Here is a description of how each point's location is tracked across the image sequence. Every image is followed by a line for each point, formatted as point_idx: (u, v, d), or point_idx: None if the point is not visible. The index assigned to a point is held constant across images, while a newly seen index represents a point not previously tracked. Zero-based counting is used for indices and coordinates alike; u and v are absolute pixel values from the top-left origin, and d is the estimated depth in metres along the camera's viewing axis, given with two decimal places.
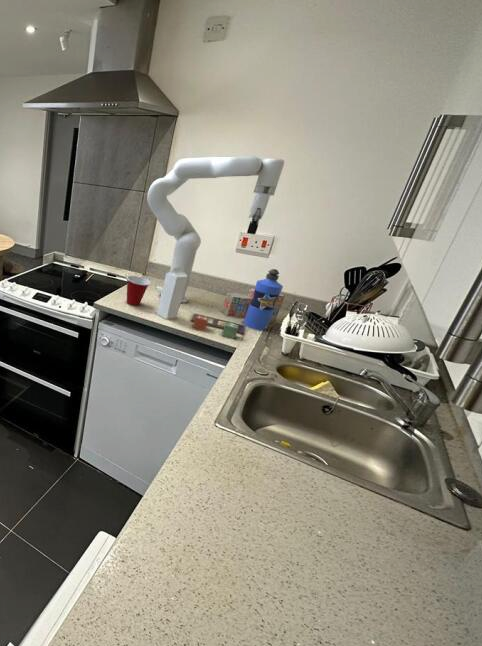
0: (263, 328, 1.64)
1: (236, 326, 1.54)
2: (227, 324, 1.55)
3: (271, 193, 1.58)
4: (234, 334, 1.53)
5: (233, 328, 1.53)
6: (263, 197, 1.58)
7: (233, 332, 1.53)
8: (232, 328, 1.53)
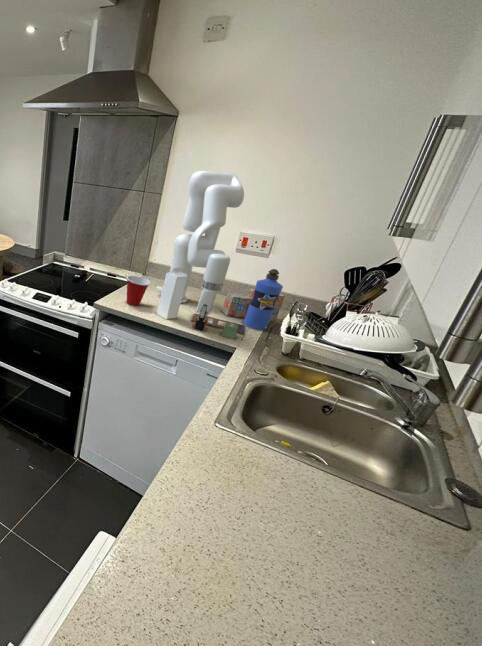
0: (263, 328, 1.64)
1: (236, 326, 1.54)
2: (227, 324, 1.55)
3: (218, 290, 1.51)
4: (234, 334, 1.53)
5: (233, 328, 1.53)
6: (209, 294, 1.51)
7: (233, 332, 1.53)
8: (232, 328, 1.53)
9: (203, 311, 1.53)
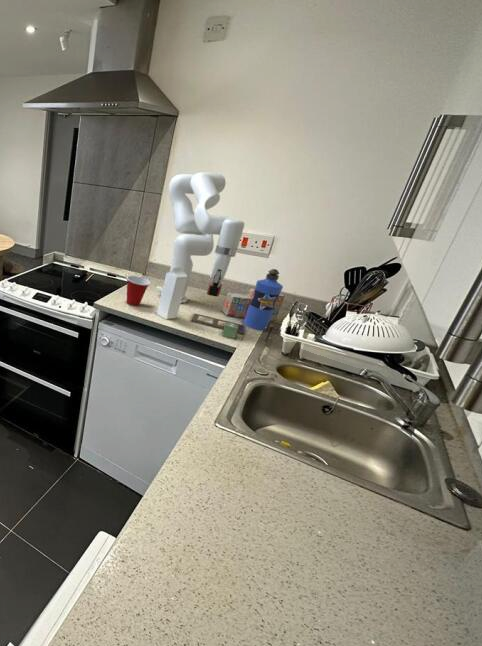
0: (263, 328, 1.64)
1: (236, 326, 1.54)
2: (227, 324, 1.55)
3: (232, 255, 1.53)
4: (234, 334, 1.53)
5: (233, 328, 1.53)
6: (223, 258, 1.54)
7: (233, 332, 1.53)
8: (232, 328, 1.53)
9: (217, 276, 1.55)
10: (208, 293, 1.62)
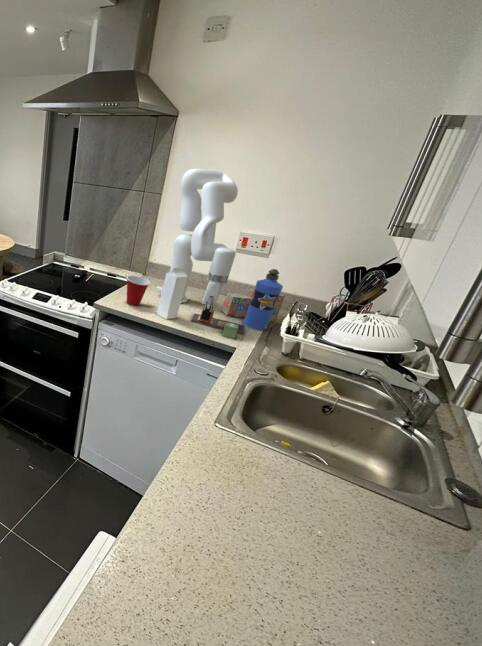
0: (263, 328, 1.64)
1: (236, 326, 1.54)
2: (227, 324, 1.55)
3: (223, 282, 1.58)
4: (234, 334, 1.53)
5: (233, 328, 1.53)
6: (215, 286, 1.58)
7: (233, 332, 1.53)
8: (232, 328, 1.53)
9: (210, 300, 1.59)
10: (201, 319, 1.67)
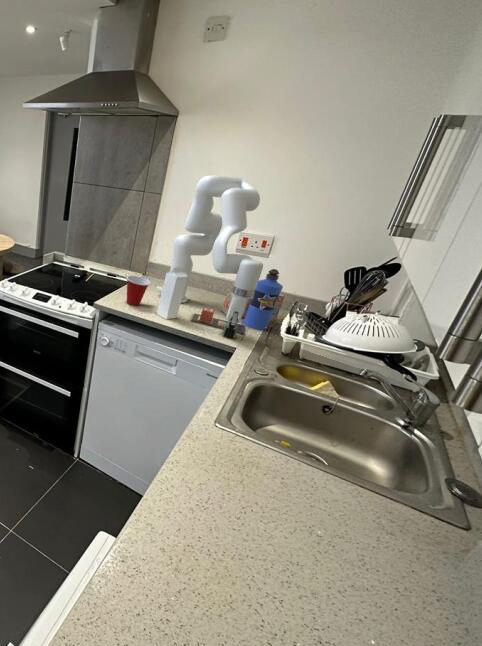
0: (263, 328, 1.64)
1: (236, 326, 1.54)
2: (227, 324, 1.55)
3: (249, 297, 1.46)
4: (234, 334, 1.53)
5: None
6: (240, 301, 1.46)
7: None
8: None
9: (234, 318, 1.48)
10: (201, 319, 1.67)
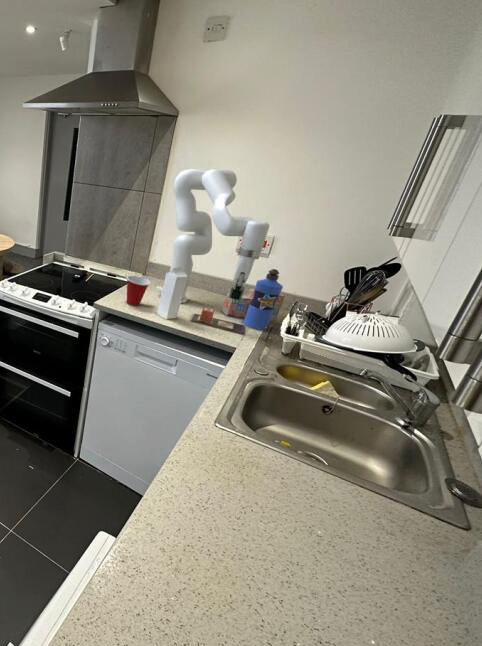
0: (263, 328, 1.64)
1: (242, 288, 1.57)
2: (233, 286, 1.58)
3: (256, 257, 1.49)
4: (240, 295, 1.56)
5: None
6: (247, 261, 1.49)
7: None
8: None
9: (240, 279, 1.51)
10: (201, 319, 1.67)
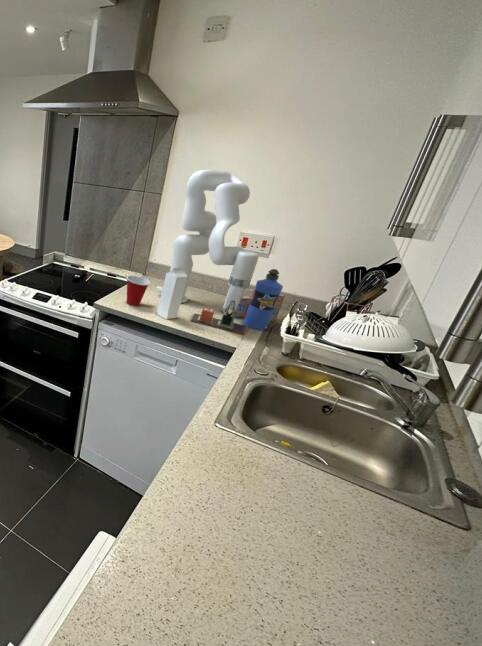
0: (263, 328, 1.64)
1: (233, 316, 1.62)
2: None
3: (245, 286, 1.55)
4: (231, 323, 1.62)
5: None
6: (237, 290, 1.55)
7: (231, 321, 1.61)
8: None
9: (232, 304, 1.55)
10: (201, 319, 1.67)
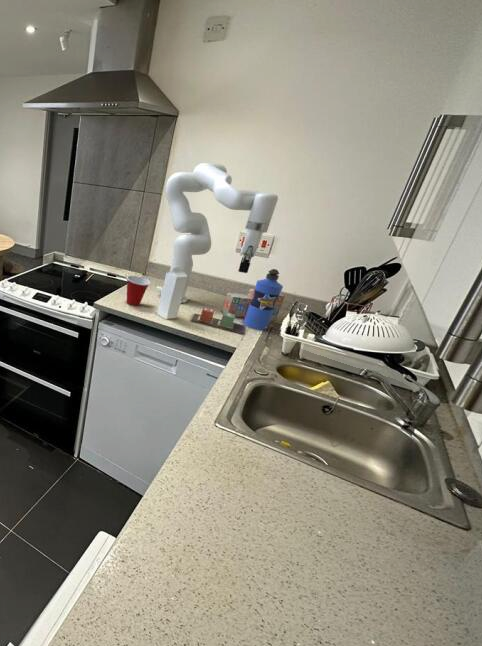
0: (263, 328, 1.64)
1: (233, 316, 1.62)
2: (225, 314, 1.63)
3: (264, 230, 1.47)
4: (231, 323, 1.62)
5: (230, 317, 1.61)
6: (255, 234, 1.48)
7: (231, 321, 1.61)
8: (229, 317, 1.61)
9: (249, 249, 1.48)
10: (201, 319, 1.67)
